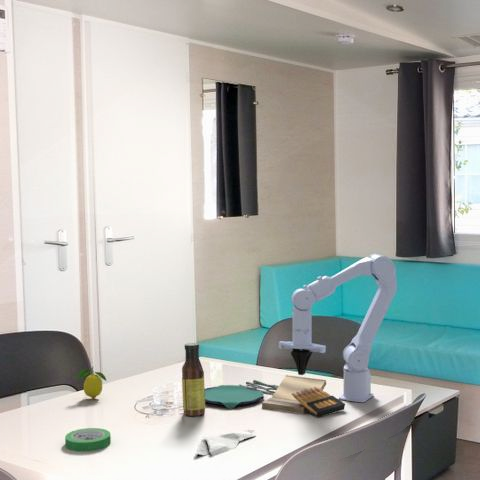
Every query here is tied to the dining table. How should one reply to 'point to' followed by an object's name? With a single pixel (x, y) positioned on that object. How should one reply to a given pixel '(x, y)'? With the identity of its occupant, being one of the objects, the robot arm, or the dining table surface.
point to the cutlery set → (237, 394)
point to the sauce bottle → (193, 382)
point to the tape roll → (78, 443)
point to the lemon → (92, 383)
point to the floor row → (284, 405)
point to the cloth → (221, 442)
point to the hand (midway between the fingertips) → (301, 374)
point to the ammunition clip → (319, 402)
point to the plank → (296, 386)
